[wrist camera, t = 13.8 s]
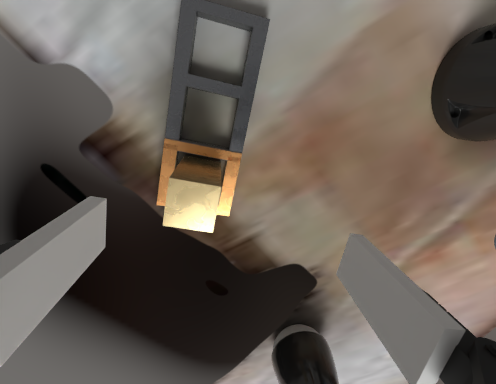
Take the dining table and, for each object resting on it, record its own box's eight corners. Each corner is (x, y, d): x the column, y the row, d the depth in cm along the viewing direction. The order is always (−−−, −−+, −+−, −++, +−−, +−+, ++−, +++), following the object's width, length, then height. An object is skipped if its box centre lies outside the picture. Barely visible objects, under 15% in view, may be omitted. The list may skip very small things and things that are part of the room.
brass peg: (220, 162, 36) (221, 186, 25) (214, 195, 38) (212, 232, 26) (184, 155, 35) (168, 177, 24) (180, 189, 37) (162, 225, 26)
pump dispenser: (258, 352, 48) (275, 455, 34) (281, 309, 46) (309, 401, 31) (306, 362, 50) (340, 463, 36) (330, 321, 48) (377, 413, 33)
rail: (266, 24, 32) (270, 18, 29) (228, 210, 39) (228, 216, 37) (184, 0, 30) (182, -8, 28) (160, 199, 37) (156, 204, 35)
